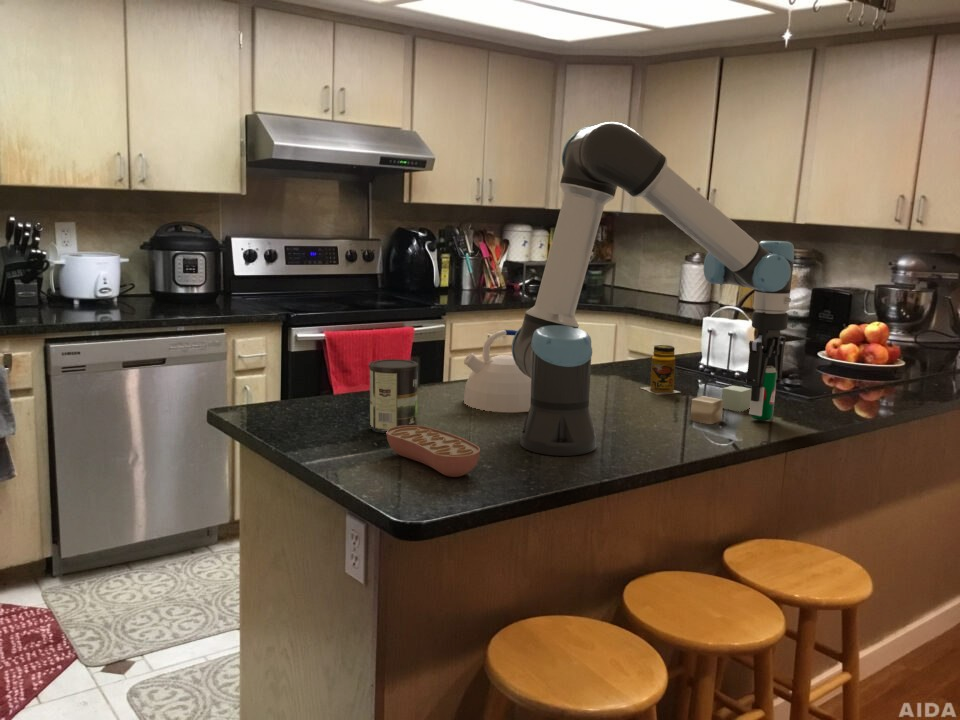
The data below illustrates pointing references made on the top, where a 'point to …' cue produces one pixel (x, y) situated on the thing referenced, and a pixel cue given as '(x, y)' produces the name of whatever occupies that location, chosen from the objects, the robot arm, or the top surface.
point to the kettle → (497, 381)
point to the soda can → (768, 394)
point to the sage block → (736, 398)
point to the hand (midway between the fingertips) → (761, 412)
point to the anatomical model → (434, 449)
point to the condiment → (662, 370)
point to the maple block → (706, 410)
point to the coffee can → (393, 393)
